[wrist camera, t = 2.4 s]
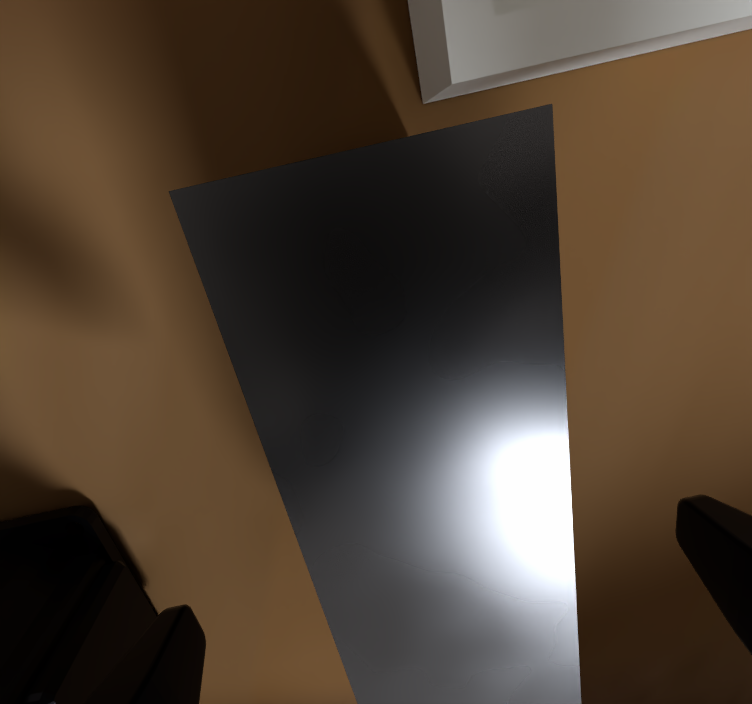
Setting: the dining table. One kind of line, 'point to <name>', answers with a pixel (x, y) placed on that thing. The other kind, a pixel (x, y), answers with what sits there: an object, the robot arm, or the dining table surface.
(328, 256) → the panel
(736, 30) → the slot rack
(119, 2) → the dining table surface
